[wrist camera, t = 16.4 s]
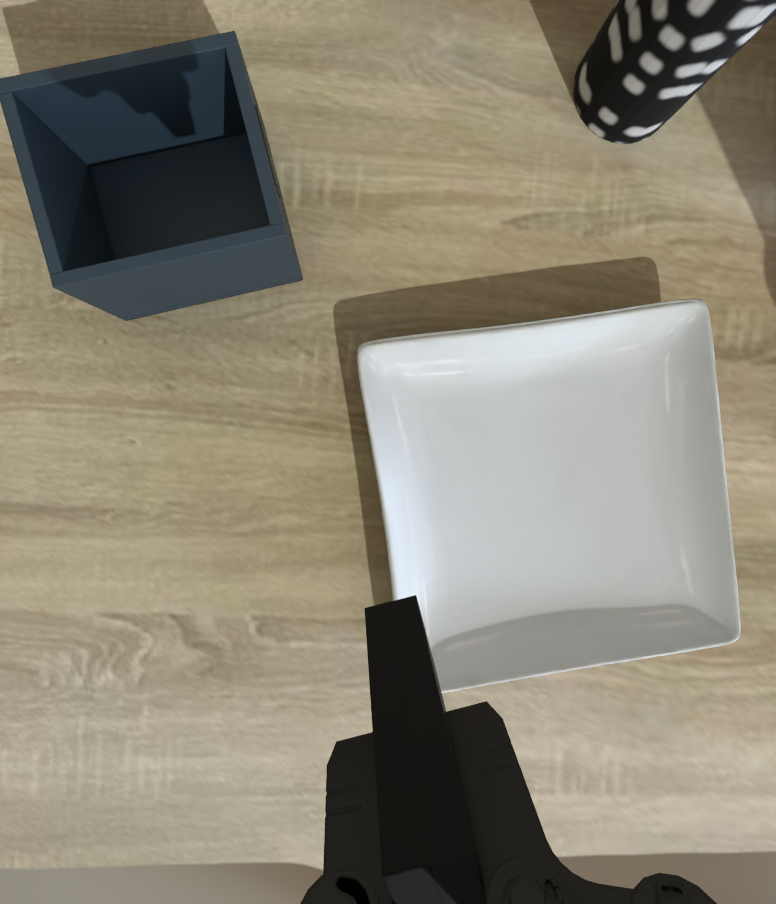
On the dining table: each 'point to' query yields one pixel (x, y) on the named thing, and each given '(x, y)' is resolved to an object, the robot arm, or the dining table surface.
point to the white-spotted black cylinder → (658, 60)
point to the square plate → (555, 490)
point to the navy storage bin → (151, 177)
